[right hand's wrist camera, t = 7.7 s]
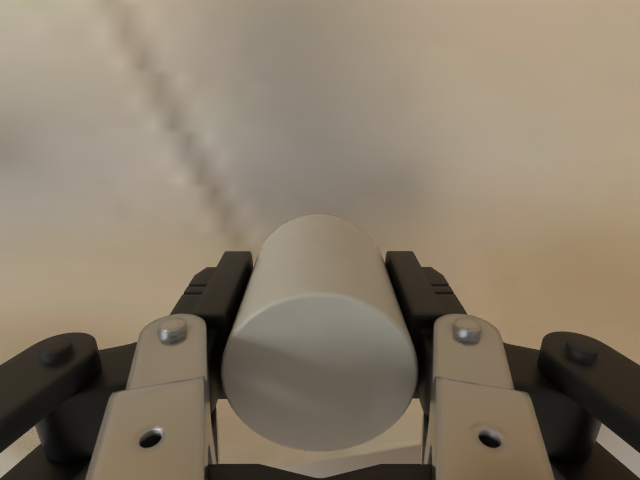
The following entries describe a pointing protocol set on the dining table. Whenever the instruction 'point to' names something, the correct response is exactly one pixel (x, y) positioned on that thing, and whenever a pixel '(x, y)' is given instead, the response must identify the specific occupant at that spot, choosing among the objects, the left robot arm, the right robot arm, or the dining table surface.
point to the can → (319, 340)
